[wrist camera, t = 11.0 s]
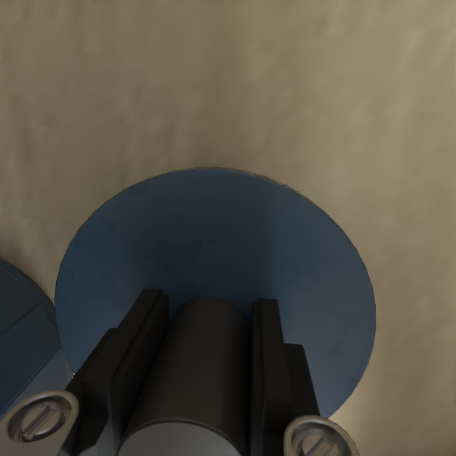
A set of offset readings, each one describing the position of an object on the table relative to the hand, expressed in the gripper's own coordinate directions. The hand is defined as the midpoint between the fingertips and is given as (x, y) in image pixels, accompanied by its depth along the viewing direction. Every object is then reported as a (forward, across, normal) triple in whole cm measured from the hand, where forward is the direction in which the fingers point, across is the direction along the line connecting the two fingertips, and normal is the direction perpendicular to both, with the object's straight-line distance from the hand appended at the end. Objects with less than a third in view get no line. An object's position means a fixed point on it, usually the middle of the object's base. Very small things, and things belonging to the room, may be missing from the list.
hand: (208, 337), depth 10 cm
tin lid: (+1, 0, 0) cm, 1 cm away
